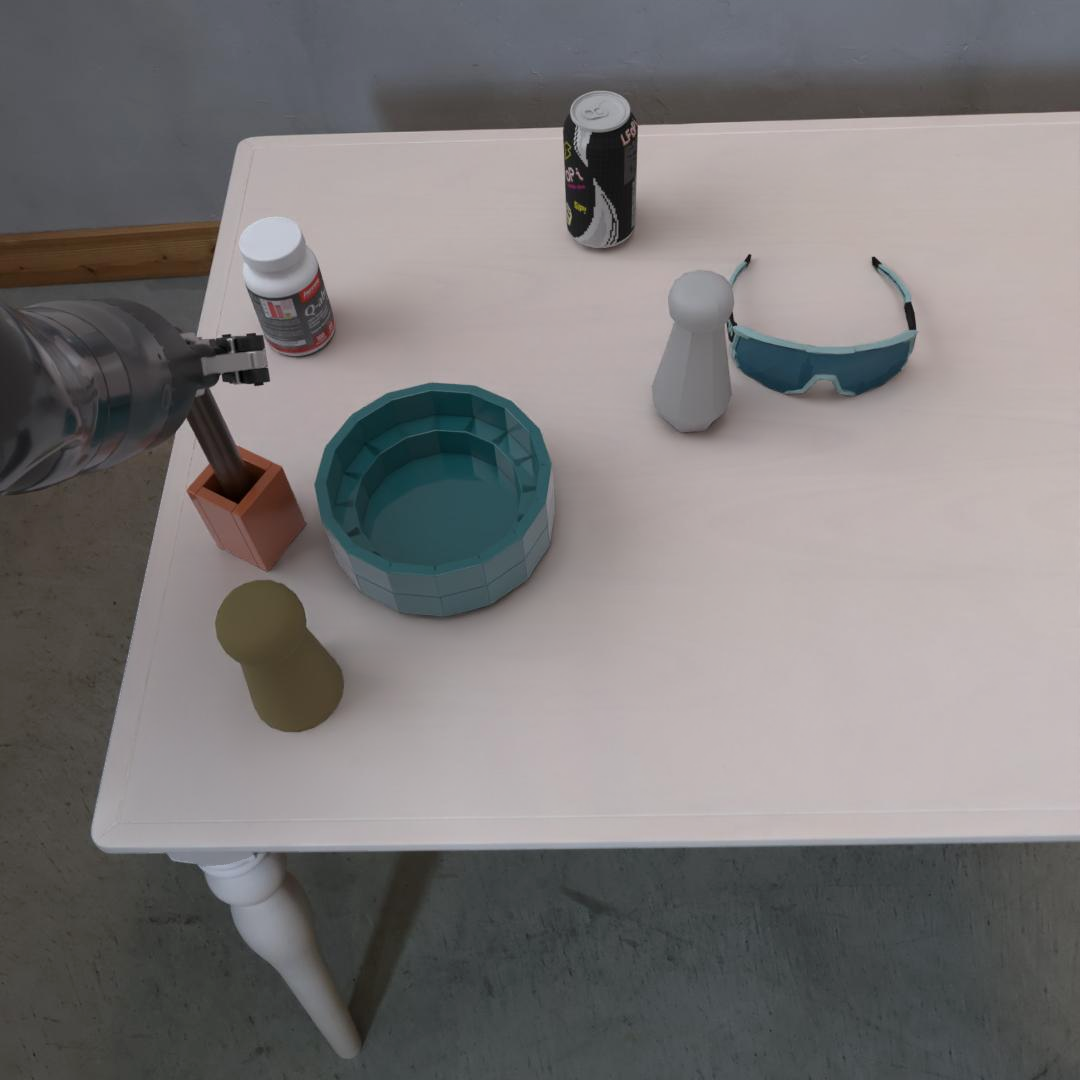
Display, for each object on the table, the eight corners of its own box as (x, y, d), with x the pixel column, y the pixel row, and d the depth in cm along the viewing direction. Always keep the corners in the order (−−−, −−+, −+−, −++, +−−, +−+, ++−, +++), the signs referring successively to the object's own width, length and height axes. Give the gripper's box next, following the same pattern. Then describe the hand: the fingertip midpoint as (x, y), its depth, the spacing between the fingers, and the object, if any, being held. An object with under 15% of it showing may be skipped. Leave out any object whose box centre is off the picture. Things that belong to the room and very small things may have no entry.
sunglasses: (724, 400, 84) (730, 349, 80) (721, 277, 94) (726, 225, 90) (917, 406, 83) (932, 354, 79) (894, 280, 93) (907, 228, 89)
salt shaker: (645, 437, 83) (651, 314, 72) (655, 378, 86) (662, 251, 75) (725, 446, 82) (743, 323, 71) (732, 386, 85) (750, 259, 74)
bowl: (291, 561, 79) (269, 514, 74) (412, 406, 86) (400, 353, 81) (480, 657, 74) (470, 613, 69) (593, 484, 81) (591, 434, 76)
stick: (240, 535, 80) (141, 344, 63) (257, 514, 81) (164, 321, 64) (262, 547, 79) (168, 357, 62) (279, 526, 80) (191, 333, 63)
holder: (216, 546, 80) (185, 490, 74) (256, 498, 82) (228, 440, 76) (268, 572, 79) (240, 517, 73) (306, 523, 81) (282, 466, 75)
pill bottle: (333, 357, 89) (304, 264, 80) (262, 360, 89) (225, 268, 81) (339, 304, 92) (312, 209, 83) (270, 307, 92) (236, 213, 84)
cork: (309, 748, 71) (264, 674, 62) (233, 706, 73) (179, 628, 64) (362, 671, 74) (326, 589, 65) (287, 633, 76) (242, 548, 67)
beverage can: (556, 219, 96) (550, 97, 86) (617, 199, 97) (618, 76, 87) (583, 263, 93) (580, 142, 83) (646, 241, 94) (651, 119, 84)
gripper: (225, 283, 50) (297, 283, 67) (-86, 315, 50) (65, 307, 67) (252, 451, 52) (315, 409, 68) (-49, 482, 51) (89, 433, 68)
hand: (191, 359), depth 68 cm, fingers closed on stick, 2 cm apart
